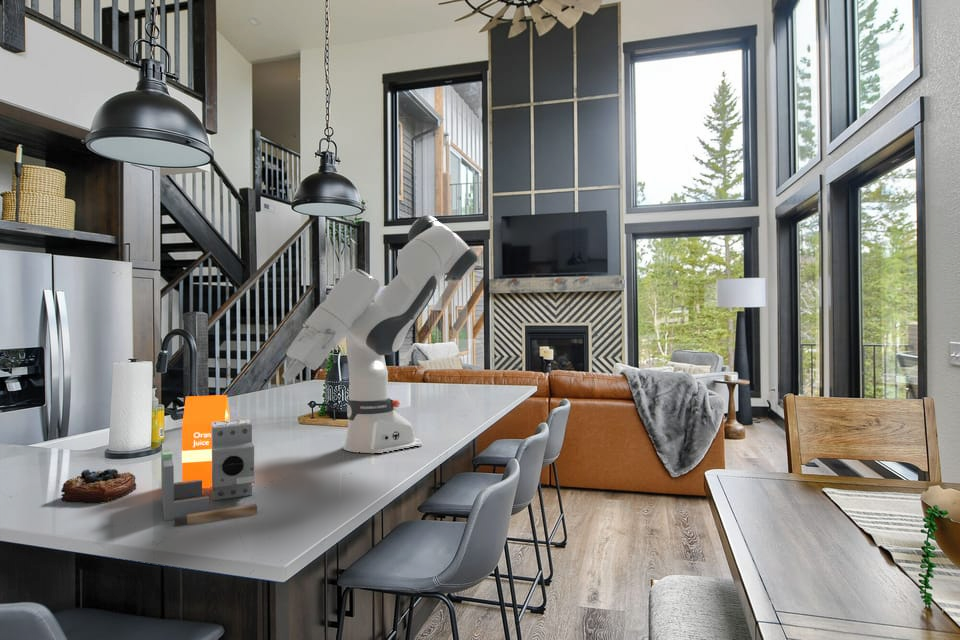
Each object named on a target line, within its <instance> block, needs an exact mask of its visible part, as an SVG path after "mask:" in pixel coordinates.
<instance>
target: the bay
mask: <svg viewBox="0 0 960 640" xmlns="http://www.w3.org/2000/svg"><path fill="white" fill-rule="evenodd" d="M160 454H161V456H160V457H161V459H160V461H161V465H160V466H161V473H160V474H161V476H160V477H161V483H160V484H161V503H162V504H161V505H162V506H161V507H162V512H163V513H162V514H163V518H164V522H166V521H171V520H174V518H175V517H181V516H187V514H192V513H198V512H205V511H210V496H209V495H206V496H205V495H204V496H203V488H202V479H200V480H192V481H185V482H182V481H179V482H174V481H175V479H174V477H175V476H174V475H175V473H174V470H175V469H174V462H173V452H172V451H171V450H170V449H167V450H161V453H160ZM199 496H200V497H199ZM192 497H193V498H192ZM176 499H177V500H176Z"/></svg>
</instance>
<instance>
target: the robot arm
mask: <svg viewBox="0 0 960 640" xmlns="http://www.w3.org/2000/svg"><path fill="white" fill-rule="evenodd" d="M407 238H408V243H406V244H405V245H404V246H403V247H402V248H401V250H400V251H399V253H398V255H397V258H396V268H397V271H398V273H397V275H396V276H395V277H394V278H393V279H392V280H391V281H390V282H389V283H388V284H387V285H386V286H385V287H384V288H383V289H382V290H381V291H380V293H379V295H378V296H377V298H376V299H375V296H376V294H377V293H378V292H379V289H380V288H381V283H380V282H379V281H378V280H377V278H375V277H374V276H372V275H370V274H369V273H367V272H366V271H364V270H362V269H360V268H355V267H354V268H352V269H350V270H349V271H348V272H346V273H345V274H344V275H343V276H342V277H341V278H340V279H339V280H338V281H337V283H335V285H334V286H333V287H332V288H331V290H330V291H329V293H328V294H327V297H326V299H324V301H322V303H319V305H317V307H316V308H315V310H313V311H312V313H311V314H310V316H309V317H307V318H306V320H305V321H304V322H303V323H302V327H303V328H302V329H301V330H300V331H299V332H298V334H297V336H296V337H295V338H294V340H293V341H292V343H291V344H290V345H289V347H288V349H287V351H286V356H288V357H289V358H291V361H290V362H289V363H288V366H287V368H286V369H285V371H284V372H283V374H282V375H281V376H282V378H283V379H285V380H286V381H288V382H289V383H291V382H292V381H293V380H294V379H295V377H296V376H297V375H299V374H300V373H301V372H302V371H303V370H304V368H309V369H311V370H313V371H316V370H317V369H319V368H320V367H321V365H322V364H323V363H324V361H325V359H326V358H327V357H328V356H329V354H330V353H331V352H332V349H333V348H334V346H335V347H338V346H339V345H340V343H341V342H342V341H343V339H344V338H345V347H346V348H345V349H346V358H347V366H348V377H349V378H348V386H349V388H348V390H349V391H348V393H349V394H348V399H347V406H346V408H347V409H346V410H347V411H346V412H347V413H346V415H347V419H348V422H347V423H348V424H347V432H346V437H345V442H344V445H343V449H344V450H345V451H346V452H347V451H348V452H351V453H359V452H360V453H362V454H363V453H364V454H374V453H382V454H384V453H383V452H387V453H390V452H389V451H392V452H394V451H393V450H398V449H403V448H408V447H413V446H418V445H421V444H422V445H423V441H422V440H421V439H419V438H417V437H415V433H414V427H413V425H412V423H411V422H410V421H409V420H407V419H406V418H404V417H403V416H402V415H401V414H399V413H398V412H397V411H395V408H399V406H400V404H401V402H400V401H399V400H398V399H391V398H389V372H388V368H387V365H386V358H385V356H387V355H392V354H395V353H397V352H398V351H399V350H400V349H401V347H402V346H403V345H404V343H405V341H406V339H407V338H408V335H409V333H410V331H411V330H412V328H413V327H414V325H415V324H416V323H417V321H418V319H419V318H420V316H421V315H422V313H423V312H424V310H425V309H426V307H427V306H428V304H429V303H430V301H431V300H432V298H433V296H434V294H435V292H436V291H437V290H436V289H437V286H438V284H439V283H440V281H441V280H442V278H443V276H446V277H445V278H444V281H445V282H448V281H449V280H450V281H453V282H456V281H461V280H462V281H463V279H465V278H467V277H469V276H470V275H471V274H472V273H473V272H474V270H475V268H476V265H477V262H478V255H477V253H476V252H475V251H474V249H473V248H471V247H470V246H469V245H468V244H467V243H466V241H464V240H463V239H462V238H461V237H460V236H459V235H458V234H457V233H456V232H454V231H452V230H451V229H450V228H448V227H447V226H446V225H444V224H443V223H442V222H440V221H439V220H438V218H435V217H434V216H432V215H422V216H420V217H419V218H417V219H416V220H415V221H414V222H413V223H412V224H411V227H410V228H409V231H408V233H407ZM403 450H404V449H403ZM398 451H399V450H398ZM360 453H359V454H360Z"/></svg>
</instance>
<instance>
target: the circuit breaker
mask: <svg viewBox="0 0 960 640" xmlns="http://www.w3.org/2000/svg"><path fill="white" fill-rule="evenodd" d="M211 424H212V429H211V441H212V488H211V493H212V501H219V500H226V499H234V497H235V498H241V496H242V497H248V495H250V496H252V495H253V484H255V446H254V443H253V424H252V422H251V421H250V419H249V418H243V419H242V418H241V419H232V420H230V421H215V422H211Z"/></svg>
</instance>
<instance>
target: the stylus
mask: <svg viewBox="0 0 960 640" xmlns="http://www.w3.org/2000/svg"><path fill="white" fill-rule="evenodd" d="M257 514H258V505H257V503H253V504H252V503H251V504H246V505H240V506H232V507H226V508H219V509H213V510H209V511H205V512H198V513H192V514H187V516H181V517H175V518H174V519H173V520H174V521H173V523H174V527H179V526H183V525H187V526H188V525H195V524H201V523H207V522H214V521H220V520H227V519H232V518H238V517H245V516H250V515H252V516H253V515H257Z"/></svg>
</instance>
